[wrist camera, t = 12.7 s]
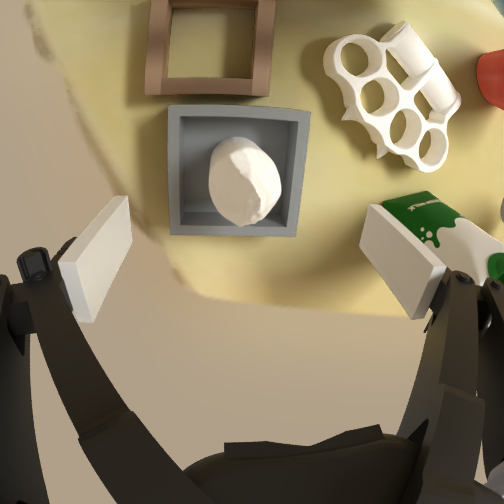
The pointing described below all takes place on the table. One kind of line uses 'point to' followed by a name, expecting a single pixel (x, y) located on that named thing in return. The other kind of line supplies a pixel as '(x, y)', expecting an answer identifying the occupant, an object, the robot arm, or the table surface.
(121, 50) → the table surface
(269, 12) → the holder
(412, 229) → the milk carton
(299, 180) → the tray
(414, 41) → the white brass knuckles
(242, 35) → the table surface
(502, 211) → the wine glass
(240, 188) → the white tall rounded piece
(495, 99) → the flower pot
